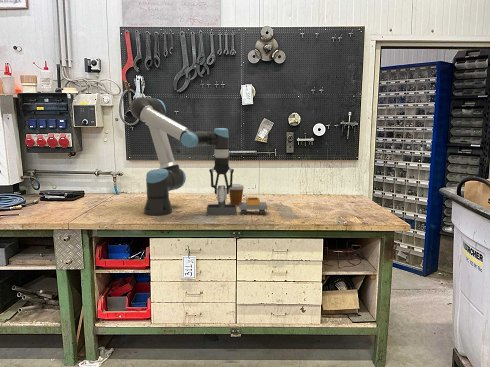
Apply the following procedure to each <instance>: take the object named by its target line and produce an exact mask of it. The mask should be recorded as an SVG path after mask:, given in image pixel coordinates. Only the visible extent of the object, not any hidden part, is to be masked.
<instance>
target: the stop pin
mask: <svg viewBox="0 0 490 367" xmlns="http://www.w3.org/2000/svg"><path fill="white" fill-rule="evenodd" d="M217 188H218V201H217V204H218V208H225V204H226V201H225V188H226V184H223V185H222V184H220V185H217Z"/></svg>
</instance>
